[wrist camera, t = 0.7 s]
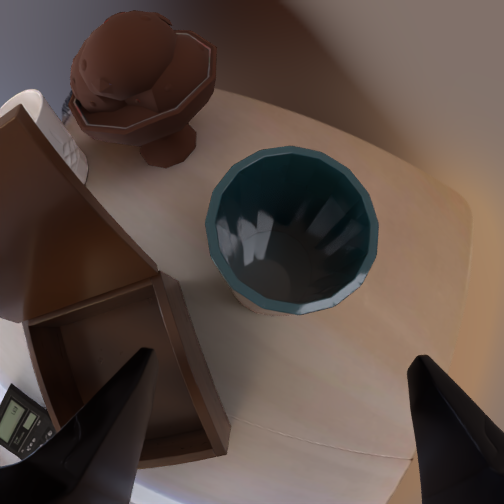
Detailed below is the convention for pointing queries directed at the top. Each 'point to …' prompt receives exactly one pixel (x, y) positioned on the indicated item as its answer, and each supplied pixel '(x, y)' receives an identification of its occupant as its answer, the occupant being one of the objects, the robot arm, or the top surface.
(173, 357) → the brown wooden square box
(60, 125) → the white cup
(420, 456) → the robot arm
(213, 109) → the top surface
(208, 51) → the ice cream bowl
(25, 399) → the calculator
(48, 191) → the lid
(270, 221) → the teal drinking tumbler
